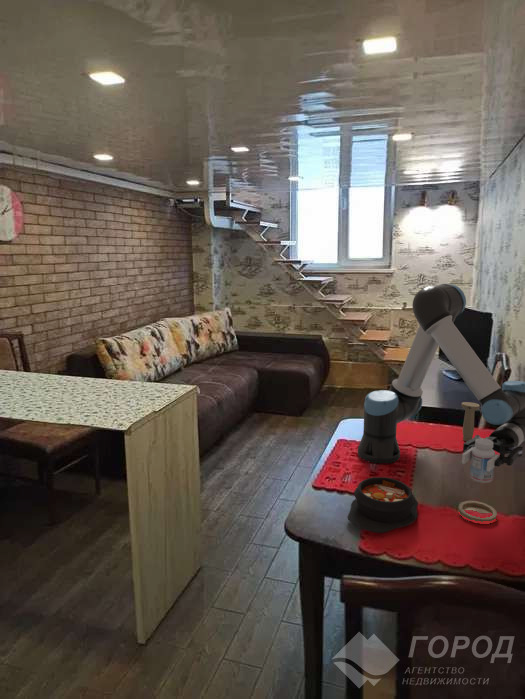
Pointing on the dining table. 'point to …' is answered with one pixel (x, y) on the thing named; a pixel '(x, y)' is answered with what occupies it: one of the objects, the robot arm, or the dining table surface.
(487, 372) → the robot arm
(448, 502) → the dining table surface
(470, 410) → the handle
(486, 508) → the ring
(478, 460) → the pill bottle
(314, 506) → the dining table surface
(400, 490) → the casserole
